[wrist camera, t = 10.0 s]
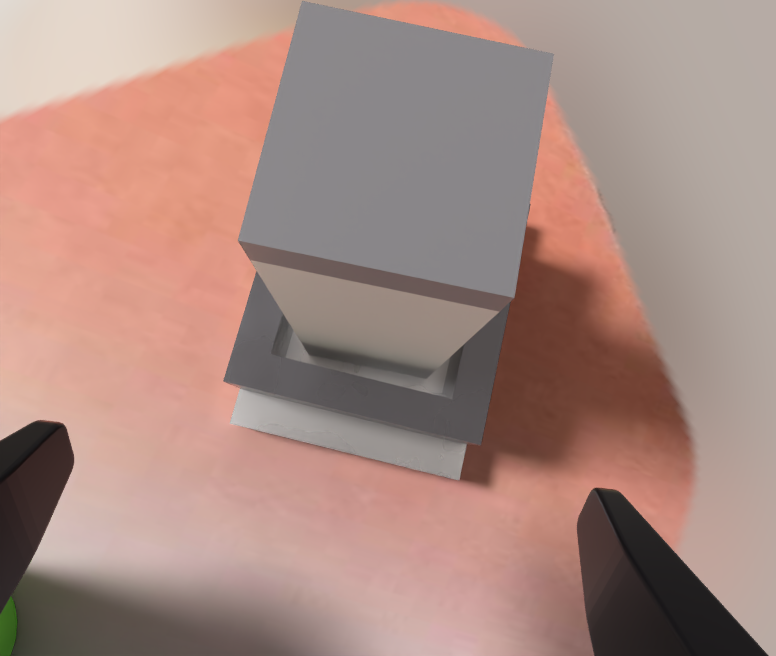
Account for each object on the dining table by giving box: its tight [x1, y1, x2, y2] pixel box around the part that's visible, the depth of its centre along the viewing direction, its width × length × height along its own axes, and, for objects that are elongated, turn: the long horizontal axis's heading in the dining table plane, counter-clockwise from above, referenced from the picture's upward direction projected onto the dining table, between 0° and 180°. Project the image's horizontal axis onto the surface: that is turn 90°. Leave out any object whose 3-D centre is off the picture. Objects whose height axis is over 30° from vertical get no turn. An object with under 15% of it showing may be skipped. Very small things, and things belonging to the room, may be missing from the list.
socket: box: [224, 205, 530, 480], centre depth 21 cm, size 11×9×4 cm
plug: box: [238, 1, 554, 379], centre depth 16 cm, size 4×4×12 cm
